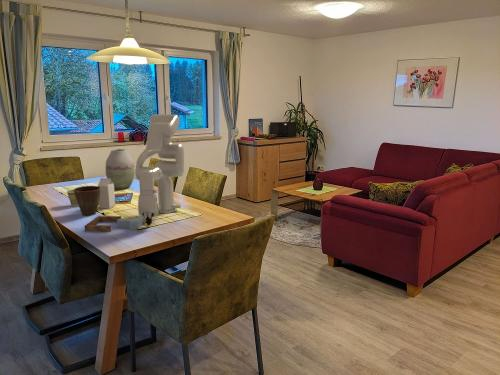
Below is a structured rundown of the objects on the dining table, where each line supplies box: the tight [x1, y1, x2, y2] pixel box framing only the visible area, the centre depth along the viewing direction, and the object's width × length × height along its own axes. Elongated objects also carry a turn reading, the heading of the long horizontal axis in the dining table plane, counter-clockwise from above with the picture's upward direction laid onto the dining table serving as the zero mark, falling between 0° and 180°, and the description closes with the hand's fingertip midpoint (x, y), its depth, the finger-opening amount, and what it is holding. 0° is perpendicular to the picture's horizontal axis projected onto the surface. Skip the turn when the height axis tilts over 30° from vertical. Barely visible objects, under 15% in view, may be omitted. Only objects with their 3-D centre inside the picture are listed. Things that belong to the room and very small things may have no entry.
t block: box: [116, 216, 144, 231], centre depth 218 cm, size 12×12×4 cm
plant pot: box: [73, 185, 100, 217], centre depth 239 cm, size 15×15×16 cm
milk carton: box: [97, 177, 116, 209], centre depth 254 cm, size 7×7×19 cm
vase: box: [105, 148, 135, 191], centre depth 306 cm, size 21×21×30 cm
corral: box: [83, 215, 122, 233], centre depth 219 cm, size 14×18×3 cm
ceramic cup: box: [66, 189, 79, 208], centre depth 259 cm, size 13×10×10 cm
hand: (148, 224), depth 218 cm, fingers closed
